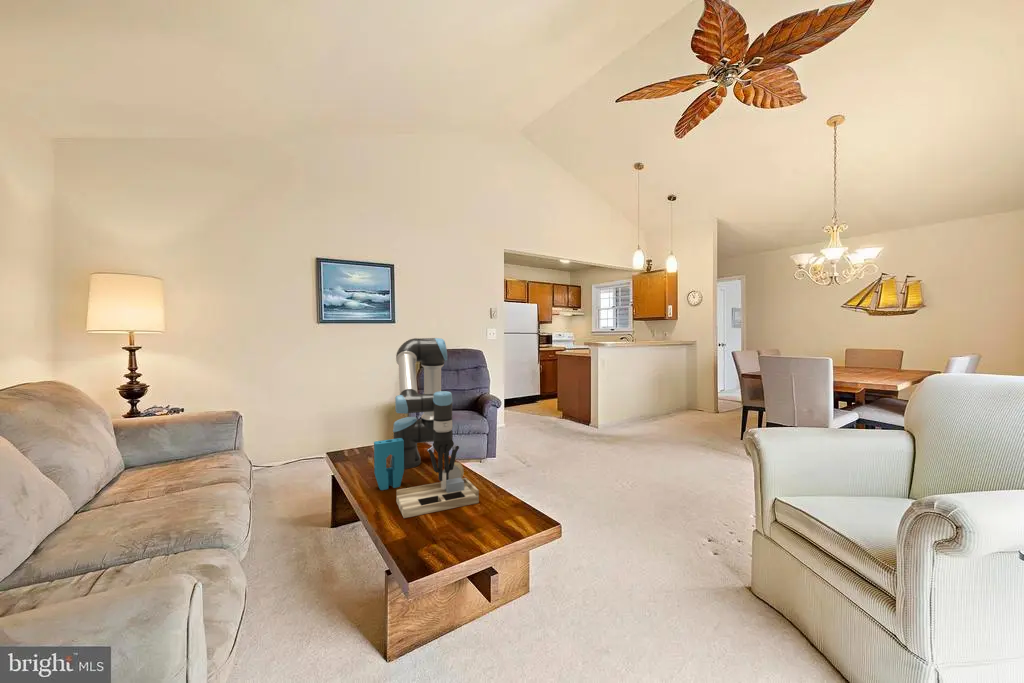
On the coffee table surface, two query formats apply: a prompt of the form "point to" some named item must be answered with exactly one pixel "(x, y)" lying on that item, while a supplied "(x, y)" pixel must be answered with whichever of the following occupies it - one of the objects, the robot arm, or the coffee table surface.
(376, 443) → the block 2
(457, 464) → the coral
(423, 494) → the box
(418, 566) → the coffee table surface
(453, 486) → the block
